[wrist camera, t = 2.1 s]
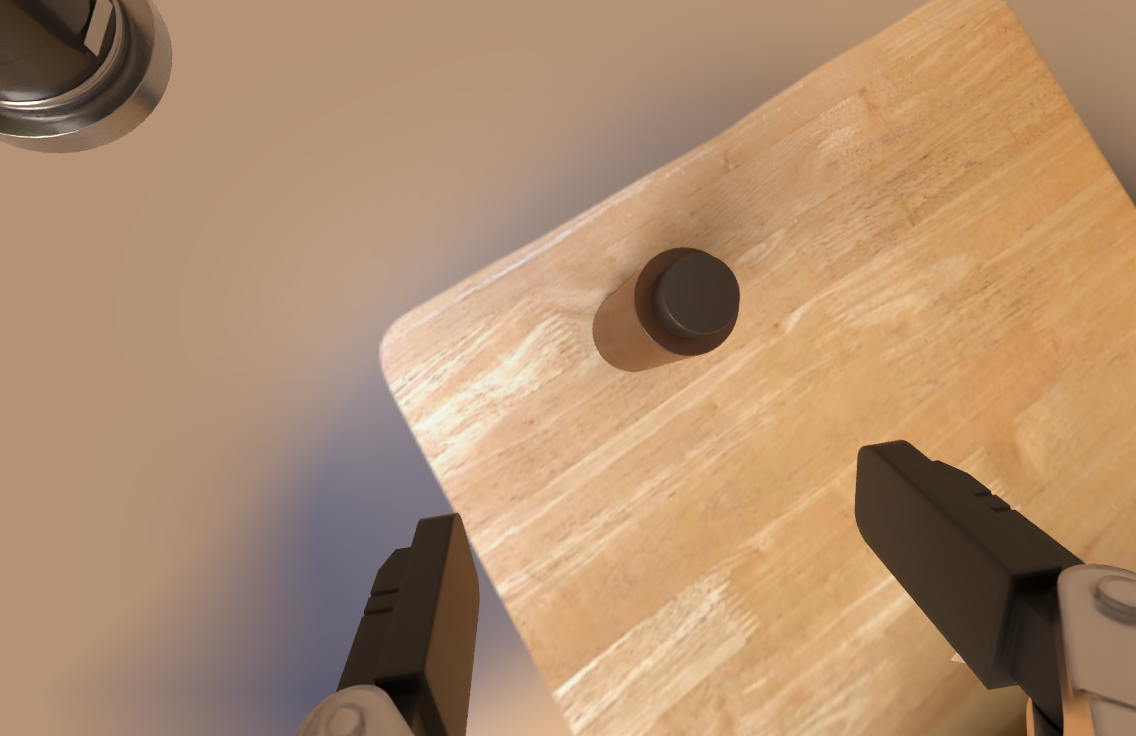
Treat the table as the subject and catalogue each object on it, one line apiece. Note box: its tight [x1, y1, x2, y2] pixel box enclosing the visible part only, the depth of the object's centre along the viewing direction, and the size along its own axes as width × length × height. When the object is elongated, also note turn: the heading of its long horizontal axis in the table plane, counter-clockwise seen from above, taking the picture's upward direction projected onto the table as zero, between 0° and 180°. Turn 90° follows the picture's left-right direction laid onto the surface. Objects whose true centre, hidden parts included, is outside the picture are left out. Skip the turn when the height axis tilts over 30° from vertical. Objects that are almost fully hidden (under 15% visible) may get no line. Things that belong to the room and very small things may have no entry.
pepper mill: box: [593, 247, 740, 372], centre depth 27 cm, size 5×5×10 cm
